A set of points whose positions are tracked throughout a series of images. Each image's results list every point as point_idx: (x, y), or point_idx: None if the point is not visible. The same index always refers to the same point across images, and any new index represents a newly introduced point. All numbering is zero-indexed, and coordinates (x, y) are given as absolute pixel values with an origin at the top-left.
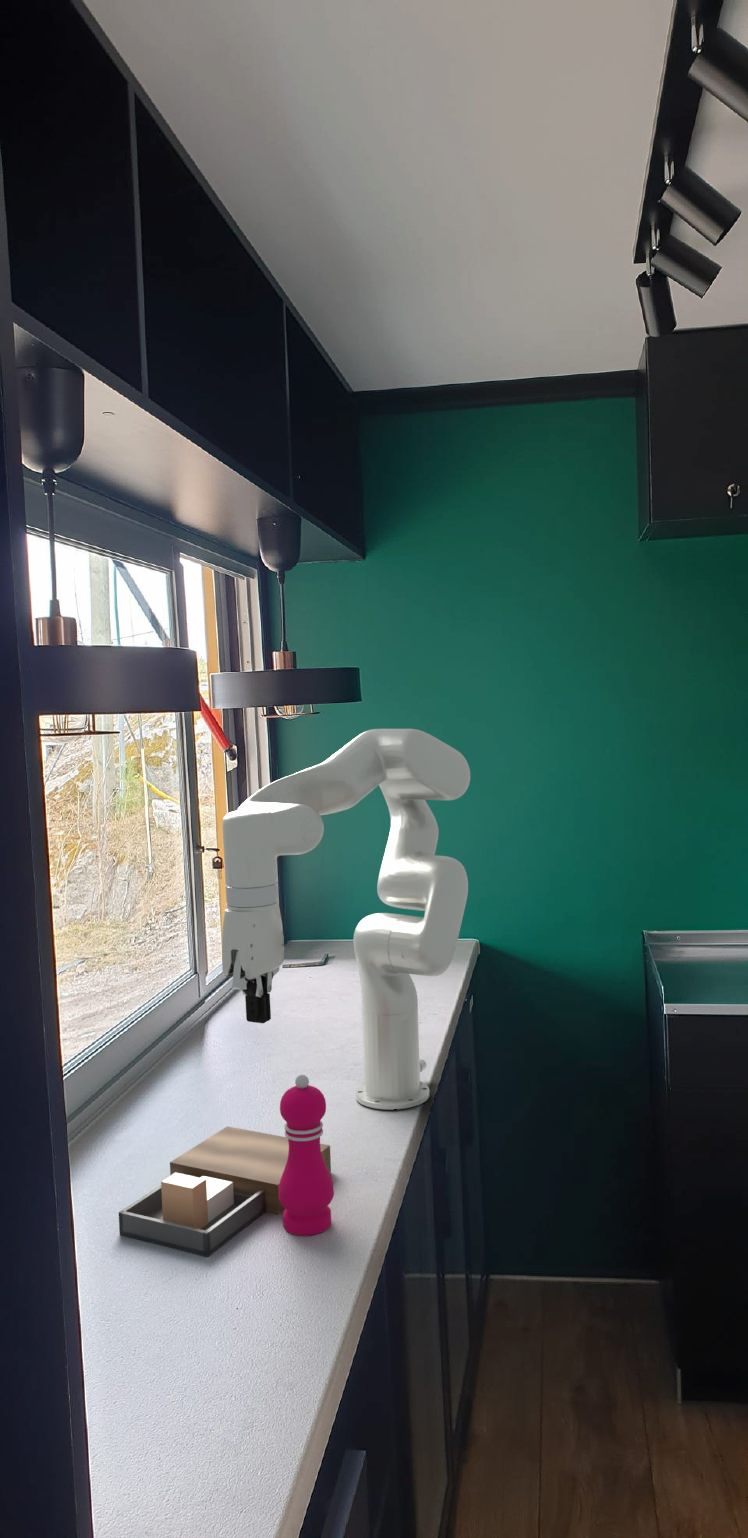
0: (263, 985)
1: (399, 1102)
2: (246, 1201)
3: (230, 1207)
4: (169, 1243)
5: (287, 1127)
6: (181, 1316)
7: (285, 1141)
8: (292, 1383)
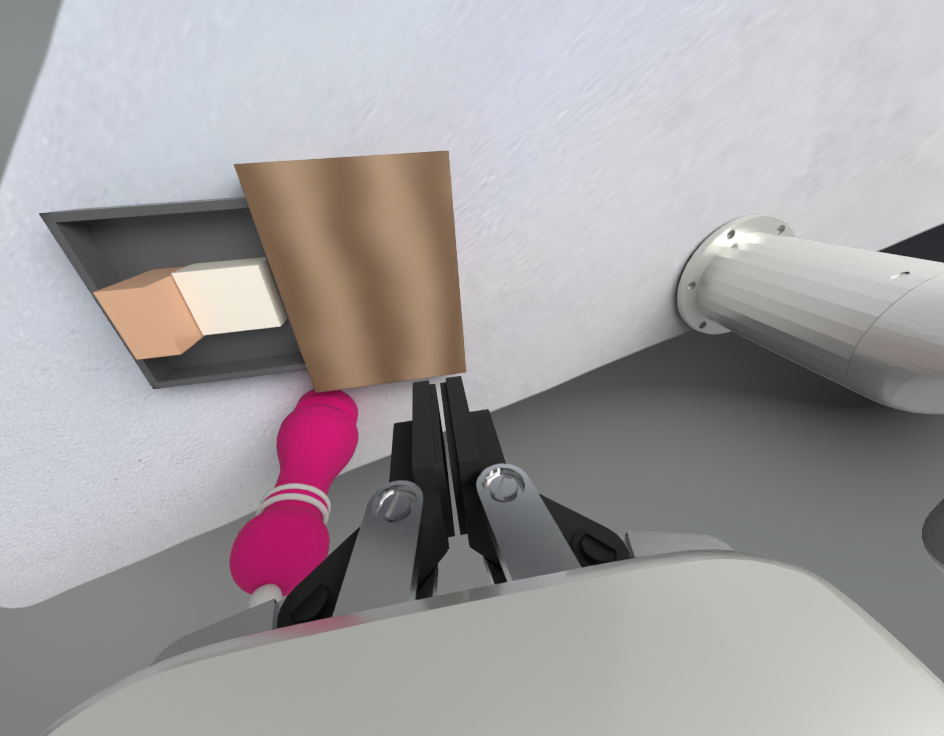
0: (493, 559)
1: (690, 317)
2: (263, 371)
3: None
4: None
5: (259, 513)
6: (68, 431)
7: (445, 307)
8: (118, 548)
